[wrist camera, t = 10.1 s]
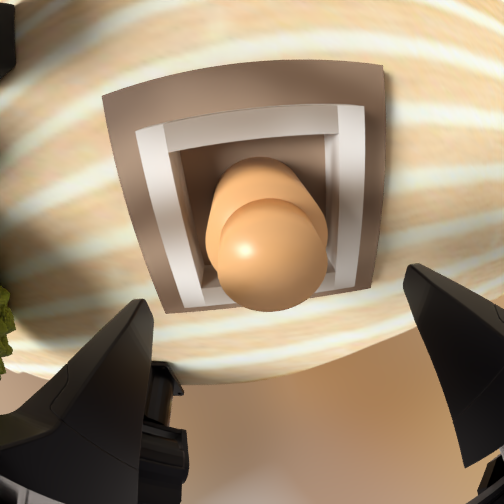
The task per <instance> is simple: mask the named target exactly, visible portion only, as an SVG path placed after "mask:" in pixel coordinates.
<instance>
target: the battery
mask: <svg viewBox="0 0 504 504" xmlns="http://www.w3.org/2000/svg"><path fill="white" fill-rule="evenodd" d="M14 10H15V7H14V5H12V4H7V3H0V79H1V78H2V77H3V76H4V75H6V74H7V73H8V72H9V71H10V70H11V69H12V68H13V67H14V66H15V64H16V58H15V42H14Z"/></svg>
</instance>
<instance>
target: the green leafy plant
mask: <svg viewBox="0 0 504 504" xmlns="http://www.w3.org/2000/svg"><path fill="white" fill-rule="evenodd" d="M9 298H10V293H9V292H8V291H7V290H6V289H5V288H2V286H0V374H4V373H6V370H5V367H4V363H3V361H2V358H1V357H5V356H9V355H11V354H12V352H13V349H12V347H10V345H9V344H8V340H7V337H6V336H7V335H6V334H8V333H11V332H12V331H14V330H16V327H15V323H14V316H13V314H12V312H11V310H10V307H8V306H7V304H8V300H9ZM0 380H1V375H0Z"/></svg>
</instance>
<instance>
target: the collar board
mask: <svg viewBox="0 0 504 504" xmlns="http://www.w3.org/2000/svg"><path fill="white" fill-rule="evenodd" d="M102 100H103V106H104V112H105V117H106V123H107V128H108V133H109V137H110V142H111V147H112V151H113V155H114V160H115V164H116V168H117V172H118V176H119V179H120V183H121V187H122V190H123V194H124V198H125V201H126V204H127V208H128V211H129V215H130V218H131V221H132V224H133V227H134V230H135V233H136V236H137V239H138V242H139V245H140V248H141V251H142V254H143V257H144V260H145V262H146V265H147V268H148V271H149V273H150V276H151V279H152V281H153V284H154V286H155V289H156V291H157V294H158V296H159V299H160V301H161V304H162V306H163V308H164V311H165V313H166V314H169V313H182V312H194V311H206V310H216V309H226V308H236V307H243V306H241V305H239V304H237V303H236V302H234V301H233V300H232V299H231V298H230V297H229V296H228V295H227V294H226V293H225V292H224V290H223V289H222V287H221V285H220V282H219V279H218V273H217V271H216V270H215V268H214V267H213V265H212V264H211V262H210V259H209V257H208V254H207V251H206V230H207V225H208V220H209V216H210V211H211V206H212V201H213V197H214V192H215V188H216V185H217V183H218V181H219V179H220V177H221V176H222V174H223V173H224V172H225V171H226V170H227V169H228V168H229V167H231V166H232V165H233V164H235V163H237V162H239V161H241V160H244V159H247V158H251V157H268V158H272V159H275V160H278V161H280V162H282V163H284V164H285V165H287V166H288V167H289V168H290V169H291V170H292V171H293V172H294V173H295V174H296V176H297V177H298V178H299V180H300V181H301V183H302V184H303V185H304V187H305V188H306V189H307V191H308V192H309V194H310V195H311V196H312V198H313V199H314V201H315V202H316V204H317V205H318V206H319V208H320V209H321V211H322V213H323V215H324V217H325V220H326V224H327V229H328V240H327V246H326V253H327V258H328V266H327V272H326V275H325V278H324V280H323V282H322V284H321V285H320V287H319V288H318V289H317V291H316V292H315V293H314V294H313V295H312V296H310V297H309V298H313V297H320V296H326V295H333V294H339V293H345V292H351V291H357V290H362V289H368V288H371V283H372V277H373V272H374V266H375V260H376V253H377V246H378V239H379V232H380V223H381V214H382V204H383V192H384V177H385V155H386V108H385V87H384V73H383V65H376V64H368V63H359V62H348V61H333V60H273V61H258V62H247V63H237V64H229V65H222V66H215V67H209V68H203V69H197V70H192V71H187V72H182V73H178V74H173V75H169V76H165V77H161V78H157V79H153V80H150V81H146V82H143V83H139V84H136V85H133V86H129V87H126V88H123V89H120V90H117V91H114V92H112V93H109V94H106V95H103V96H102Z"/></svg>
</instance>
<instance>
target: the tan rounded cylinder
mask: <svg viewBox="0 0 504 504" xmlns="http://www.w3.org/2000/svg"><path fill="white" fill-rule="evenodd" d="M327 240H328V229H327V224H326V220H325V217H324V215H323V213H322V211H321V209H320V208H319V206H318V205H317V204H316V202H315V201H314V199H313V198H312V196H311V195H310V194H309V192H308V191H307V189H306V188H305V187H304V185H303V184H302V183H301V181H300V180H299V178H298V177H297V176H296V174H295V173H294V172H293V171H292V170H291V169H290V168H289V167H288V166H287V165H285V164H284V163H282V162H280V161H278V160H275V159H272V158H268V157H251V158H247V159H244V160H241V161H239V162H237V163H235V164H233V165H232V166H231V167H229V168H228V169H227V170H226V171H225V172H224V173H223V174H222V176H221V177H220V179H219V181H218V183H217V185H216V188H215V192H214V197H213V201H212V206H211V211H210V216H209V220H208V225H207V230H206V251H207V254H208V257H209V259H210V262H211V264H212V265H213V267H214V268H215V270H216V271H217V273H218V279H219V282H220V285H221V287H222V289H223V290H224V292H225V293H226V294H227V295H228V296H229V297H230V298H231V299H232V300H233V301H234V302H236V303H237V304H239V305H241V306H243V307H245V308H248V309H251V310H256V311H263V312H273V311H281V310H285V309H289V308H291V307H294V306H296V305H298V304H300V303H302V302H304V301H305V300H307V299H308V298H309V297H310V296H312V295H313V294H314V293H315V292H316V291H317V289H318V288H319V287H320V285H321V284H322V282H323V280H324V278H325V275H326V272H327V266H328V258H327V253H326V246H327Z"/></svg>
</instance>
